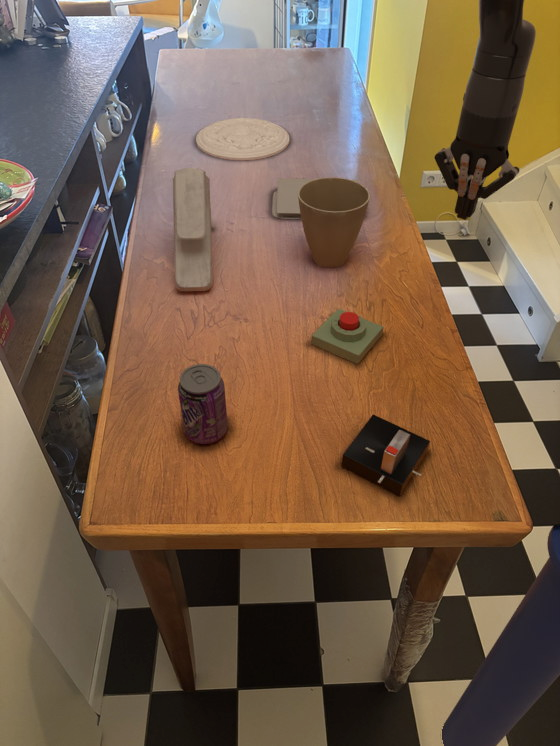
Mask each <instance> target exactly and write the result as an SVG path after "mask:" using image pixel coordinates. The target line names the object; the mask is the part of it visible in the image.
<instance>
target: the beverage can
mask: <svg viewBox="0 0 560 746" xmlns="http://www.w3.org/2000/svg"><path fill="white" fill-rule="evenodd" d="M177 394H178V399H179V406H180V413H181V421H182V425H183V432H184V435H185V436H186V437H187V438H188V440H190V441H191V442H193V443H195V444H201V445H207V444H213V443H215V442H218V441H220V440H221V439H222V438H223V437H224V436H225V435H226V433H227V431H228V412H227V401H226V388H225V381H224V379H223V377H222V376H221V373H220V370H218V369H217V367H215V366H213V365H211V364H206V363H197V364H193V365H190V366H188V367H186V368H184V370H183V371H182V372H181V373H180V376H179V382H178V385H177Z"/></svg>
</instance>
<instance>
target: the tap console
mask: <svg viewBox="0 0 560 746" xmlns="http://www.w3.org/2000/svg"><path fill="white" fill-rule="evenodd" d="M399 430H402V431H404V432H406V433H408V434H410V438H409V442H408V446H407V450H406V454H405V455H404V457H403V458H402V460H401V461H400V463H399V464H398V466H397V467H396V469H395V470H394V472H393V473H392V475H389V474H387V473H385V472H383V471H381V470H380V469H381V465H382V460H383V455H384V451H385V449H386V448H387V446H388V445H389V444H390V442H391V441H392V439H393V438H394V436H395V435H396V434H397V432H398V431H399ZM430 444H431V440H429V439H427V438H425V437H423V436H420V435H418V434H416V433H414V432H412V431H410V430H408V429H406V428H404V427H401V426H400V425H397V424H395V423H392V422H391V421H389V420H387V419H384V418H382V417H381V416H378V415H376V414H372V415H371V416H370V417H369V419H368V421H367V422H366V423H365V424H364V426H363V427H362V428H361V430H360V431H359V432H358V434H357V435H356V436H355V437H354V439H353V440H352V442H350V444H349V445H348V447H347V448H346V450H345V451H344V452H343V453H342V458H341V467H342V468H343V469H346V470H347V471H349V472H351V473H353V474H355V475H356V476H358V477H361V478H362V479H365V480H366V481H369V482H370V483H372V484H375V485H376V486H378V487H380V488H382V489H384V490H386V491H388V492H389V493H391V494H394V495H396V496H398V497H400V496H401V495H402V494H403V492H404V491H405V489H406V487H407V486H408V484H409V483H410V481H411V479H412V478H413V476H414V475H416V476H418V477H420V478H421V477H422V476H423V474H422V473H420V472H418V471H417V469H418V468H419V467H420V465H421V463H422V462H423V460H424V458H425V457H426V455H427V453H428V450H429V447H430Z"/></svg>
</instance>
